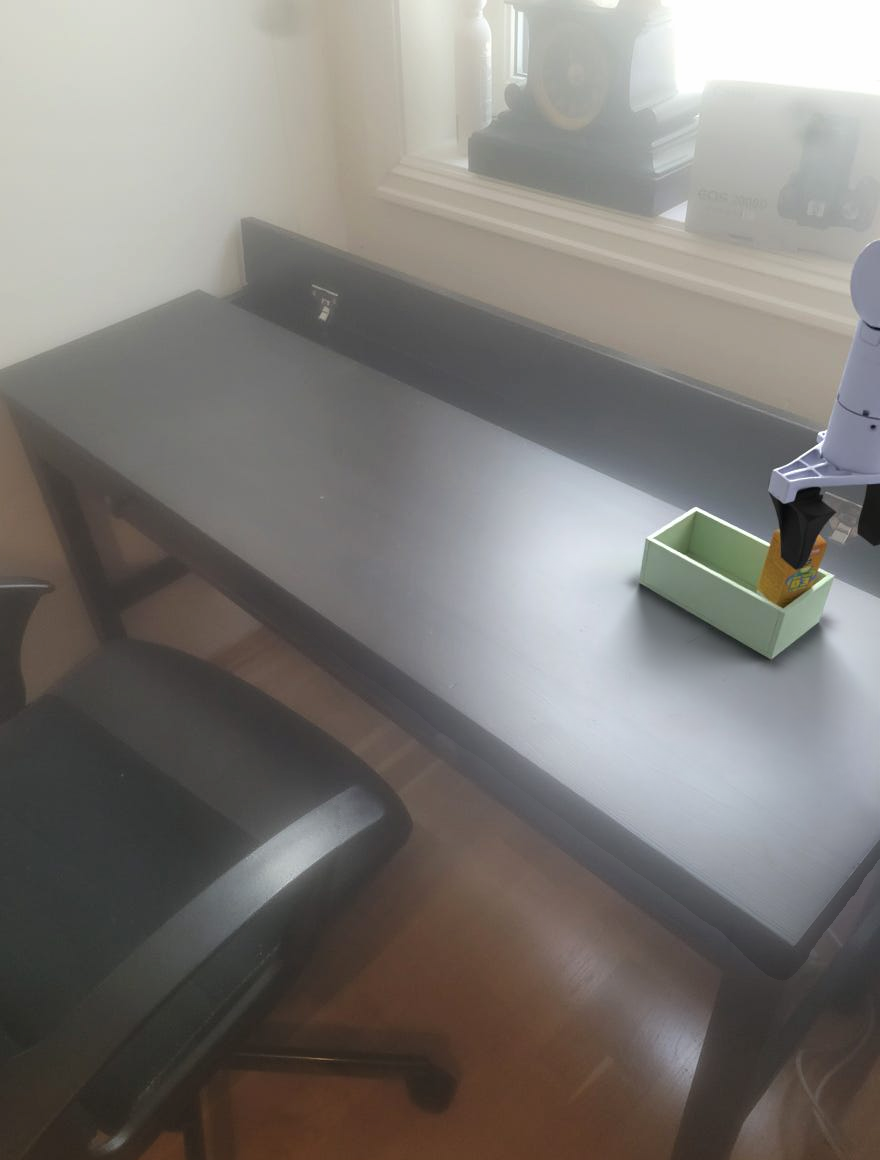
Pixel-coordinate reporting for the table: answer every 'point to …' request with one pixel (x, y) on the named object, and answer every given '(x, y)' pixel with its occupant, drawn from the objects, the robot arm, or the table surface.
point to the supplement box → (787, 573)
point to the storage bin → (726, 581)
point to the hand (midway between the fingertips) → (830, 550)
